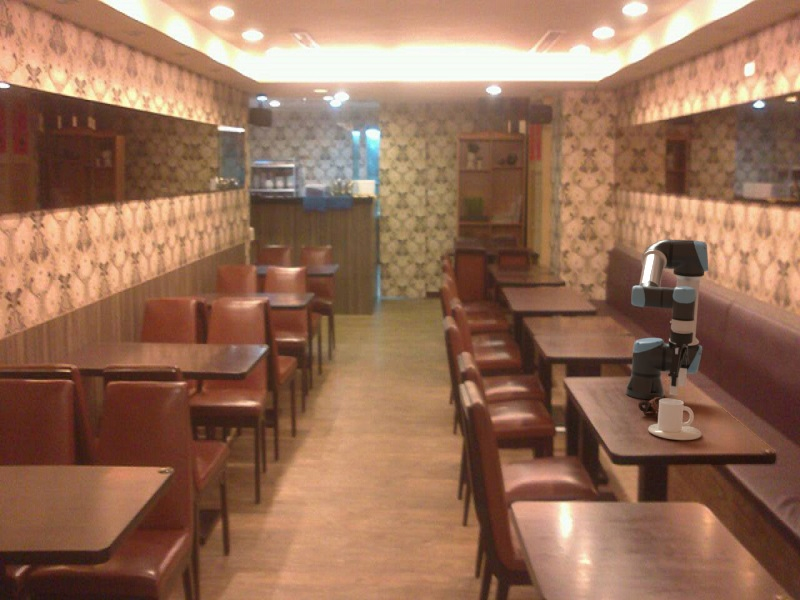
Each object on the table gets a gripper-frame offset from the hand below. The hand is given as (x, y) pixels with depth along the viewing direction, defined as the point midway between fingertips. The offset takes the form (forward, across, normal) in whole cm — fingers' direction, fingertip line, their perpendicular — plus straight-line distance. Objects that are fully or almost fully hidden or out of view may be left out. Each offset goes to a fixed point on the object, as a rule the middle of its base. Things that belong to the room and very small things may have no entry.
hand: (677, 390), depth 326 cm
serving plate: (+16, +1, 0) cm, 16 cm away
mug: (+15, 0, 0) cm, 15 cm away
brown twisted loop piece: (+16, -18, -12) cm, 27 cm away
